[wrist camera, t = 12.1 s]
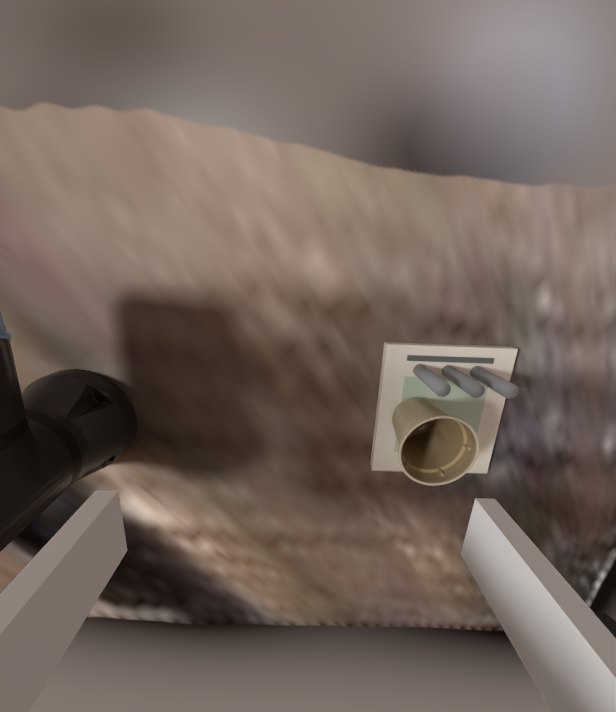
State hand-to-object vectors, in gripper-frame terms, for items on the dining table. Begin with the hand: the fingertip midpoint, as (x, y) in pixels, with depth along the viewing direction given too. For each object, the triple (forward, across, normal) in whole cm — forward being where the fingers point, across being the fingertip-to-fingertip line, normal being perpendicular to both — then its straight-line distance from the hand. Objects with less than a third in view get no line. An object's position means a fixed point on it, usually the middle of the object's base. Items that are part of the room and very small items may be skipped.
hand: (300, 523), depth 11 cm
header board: (+30, +21, -10) cm, 38 cm away
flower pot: (+29, +17, -10) cm, 35 cm away
